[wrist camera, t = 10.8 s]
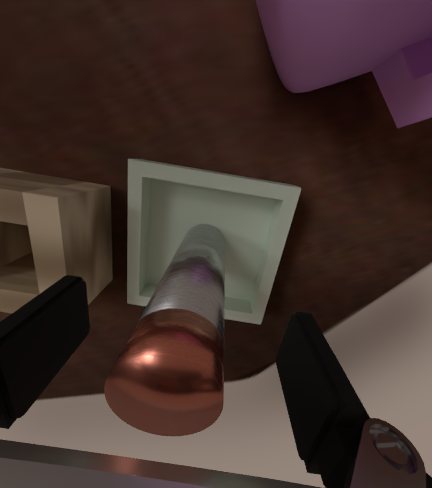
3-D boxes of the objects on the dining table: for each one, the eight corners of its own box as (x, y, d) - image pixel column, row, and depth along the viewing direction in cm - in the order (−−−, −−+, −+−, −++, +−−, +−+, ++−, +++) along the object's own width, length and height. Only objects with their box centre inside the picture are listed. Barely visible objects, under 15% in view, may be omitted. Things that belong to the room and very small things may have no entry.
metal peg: (185, 220, 18) (102, 346, 6) (228, 227, 18) (233, 366, 6) (181, 259, 19) (106, 427, 7) (221, 265, 19) (213, 442, 7)
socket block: (1, 167, 18) (-104, 171, 12) (110, 186, 18) (57, 197, 12) (20, 264, 21) (-55, 302, 15) (112, 279, 21) (71, 322, 15)
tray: (141, 159, 17) (128, 158, 15) (291, 184, 17) (301, 188, 15) (137, 287, 21) (127, 303, 19) (257, 306, 21) (260, 324, 19)
